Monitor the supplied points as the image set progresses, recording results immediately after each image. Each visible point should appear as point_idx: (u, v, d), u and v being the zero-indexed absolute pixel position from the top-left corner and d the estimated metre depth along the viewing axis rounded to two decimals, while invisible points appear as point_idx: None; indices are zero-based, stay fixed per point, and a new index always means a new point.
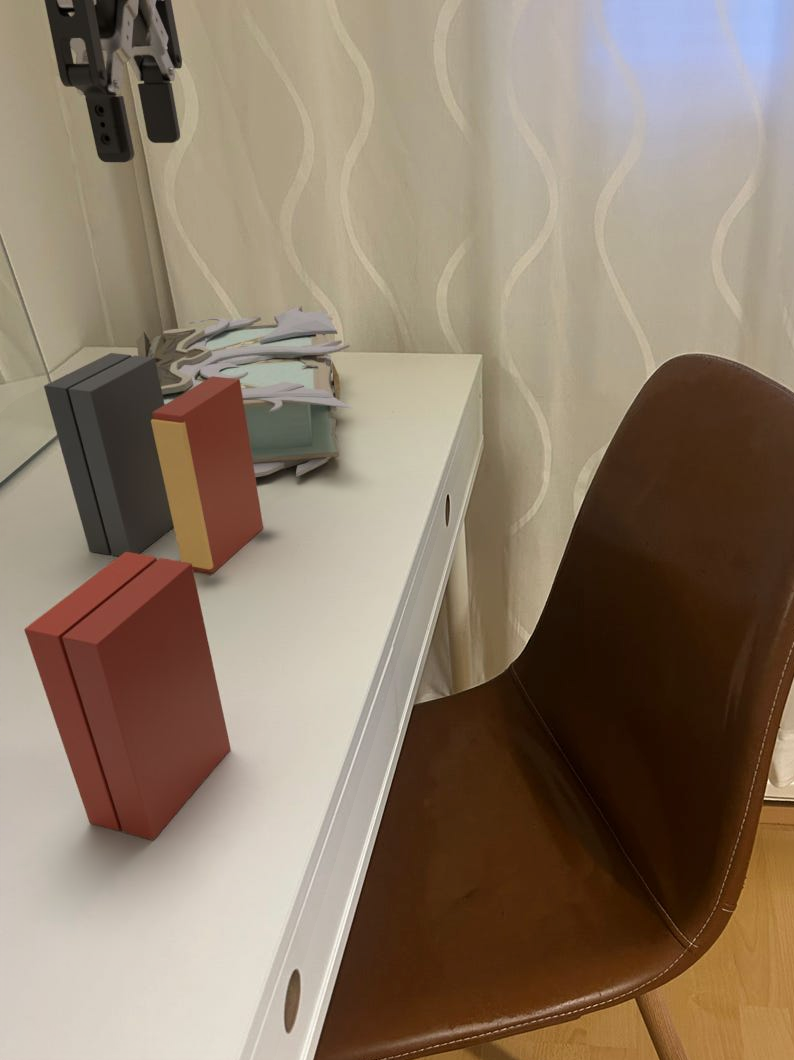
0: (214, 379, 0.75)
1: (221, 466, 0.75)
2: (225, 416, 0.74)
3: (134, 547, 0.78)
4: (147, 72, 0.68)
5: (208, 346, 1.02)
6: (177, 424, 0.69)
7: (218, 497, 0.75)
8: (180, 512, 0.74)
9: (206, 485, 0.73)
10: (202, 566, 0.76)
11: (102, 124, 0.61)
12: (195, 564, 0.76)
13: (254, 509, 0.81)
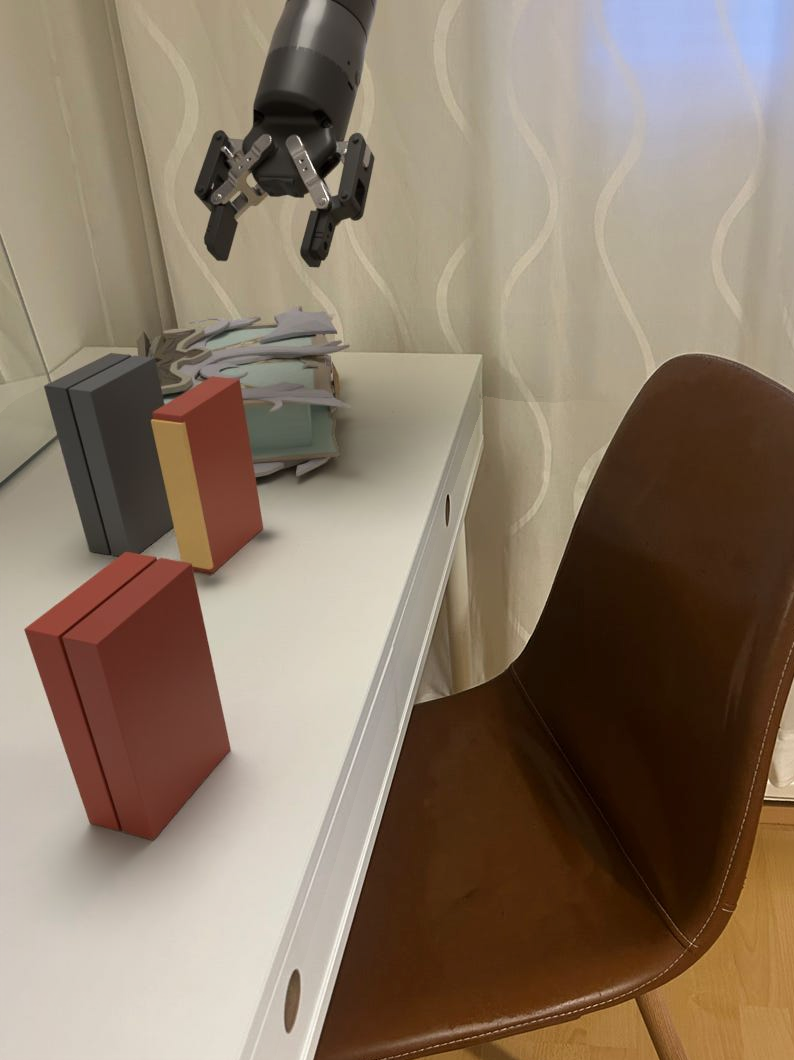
0: (214, 379, 0.75)
1: (221, 466, 0.75)
2: (225, 415, 0.74)
3: (134, 547, 0.78)
4: (229, 204, 0.79)
5: (208, 346, 1.02)
6: (177, 424, 0.69)
7: (218, 497, 0.75)
8: (180, 512, 0.74)
9: (206, 485, 0.73)
10: (202, 566, 0.76)
11: None
12: (195, 564, 0.76)
13: (254, 509, 0.81)
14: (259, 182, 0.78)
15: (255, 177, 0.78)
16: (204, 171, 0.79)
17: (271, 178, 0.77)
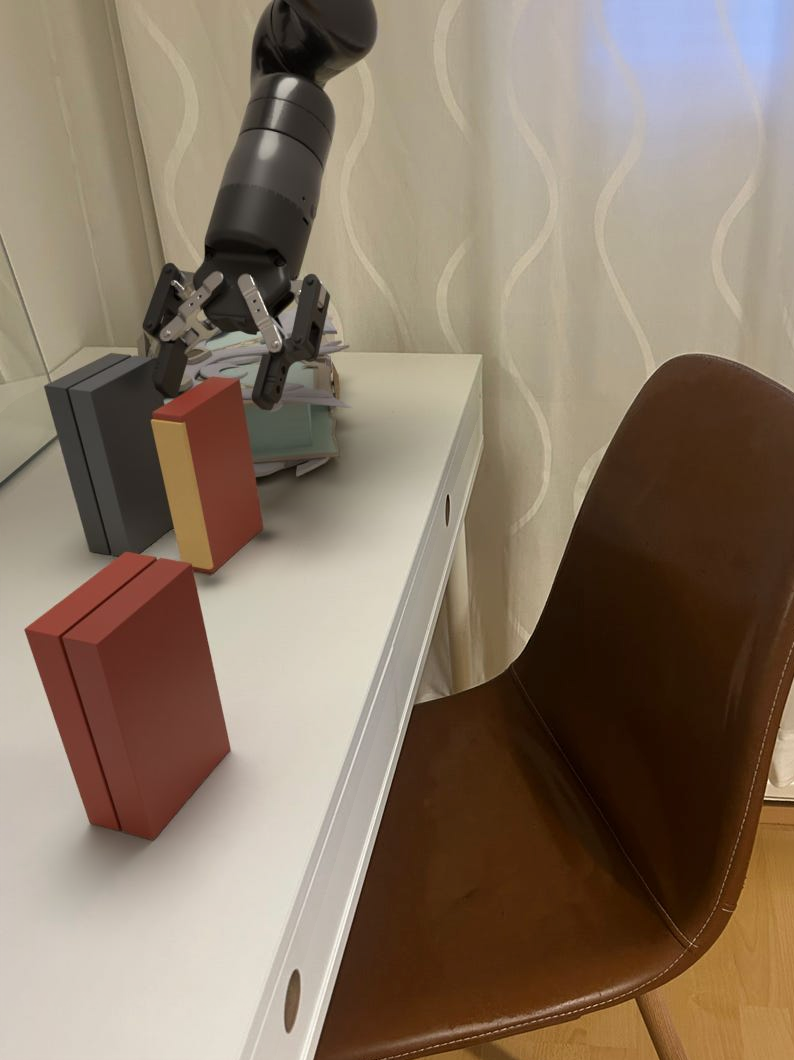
0: (214, 379, 0.75)
1: (220, 466, 0.75)
2: (225, 415, 0.74)
3: (134, 547, 0.78)
4: (179, 340, 0.76)
5: (208, 346, 1.02)
6: (177, 424, 0.69)
7: (218, 497, 0.75)
8: (180, 512, 0.74)
9: (206, 485, 0.73)
10: (202, 566, 0.76)
11: None
12: (195, 564, 0.76)
13: (254, 509, 0.81)
14: (210, 319, 0.75)
15: (206, 314, 0.75)
16: (153, 306, 0.76)
17: (222, 317, 0.74)
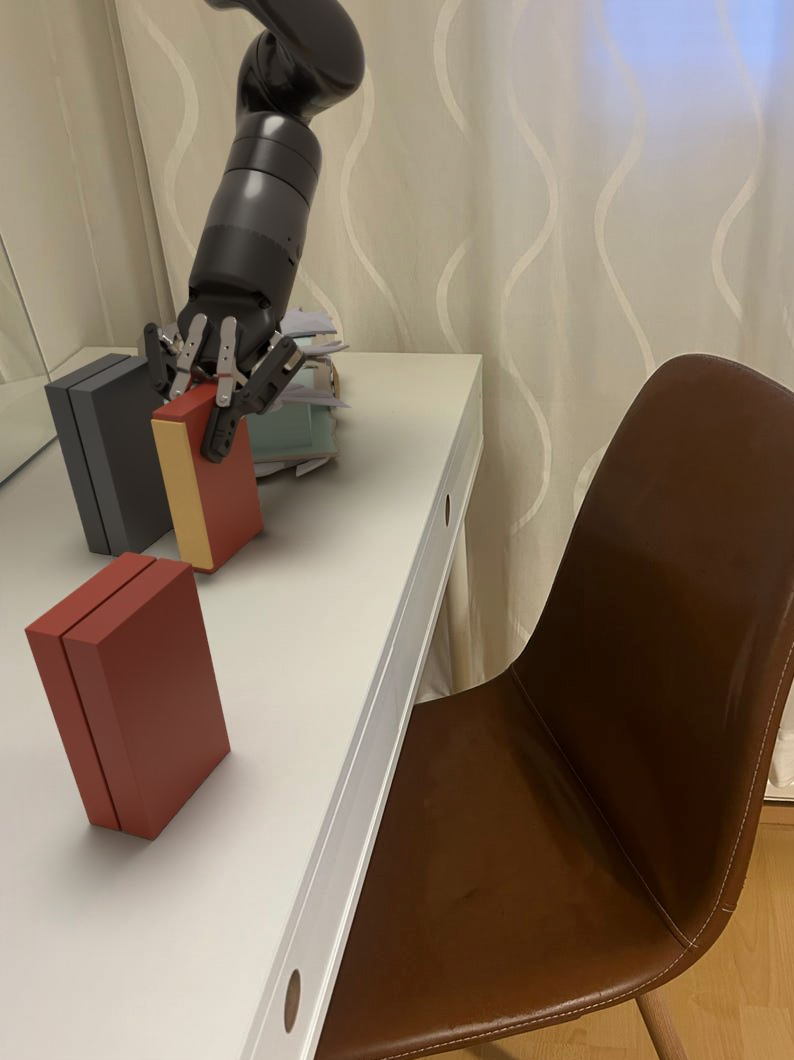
0: (214, 379, 0.75)
1: (221, 466, 0.75)
2: None
3: (134, 547, 0.78)
4: None
5: None
6: (177, 424, 0.69)
7: (218, 497, 0.75)
8: (180, 512, 0.74)
9: (206, 485, 0.73)
10: (202, 566, 0.76)
11: None
12: (195, 564, 0.76)
13: (254, 509, 0.81)
14: None
15: None
16: (153, 366, 0.74)
17: (206, 359, 0.73)
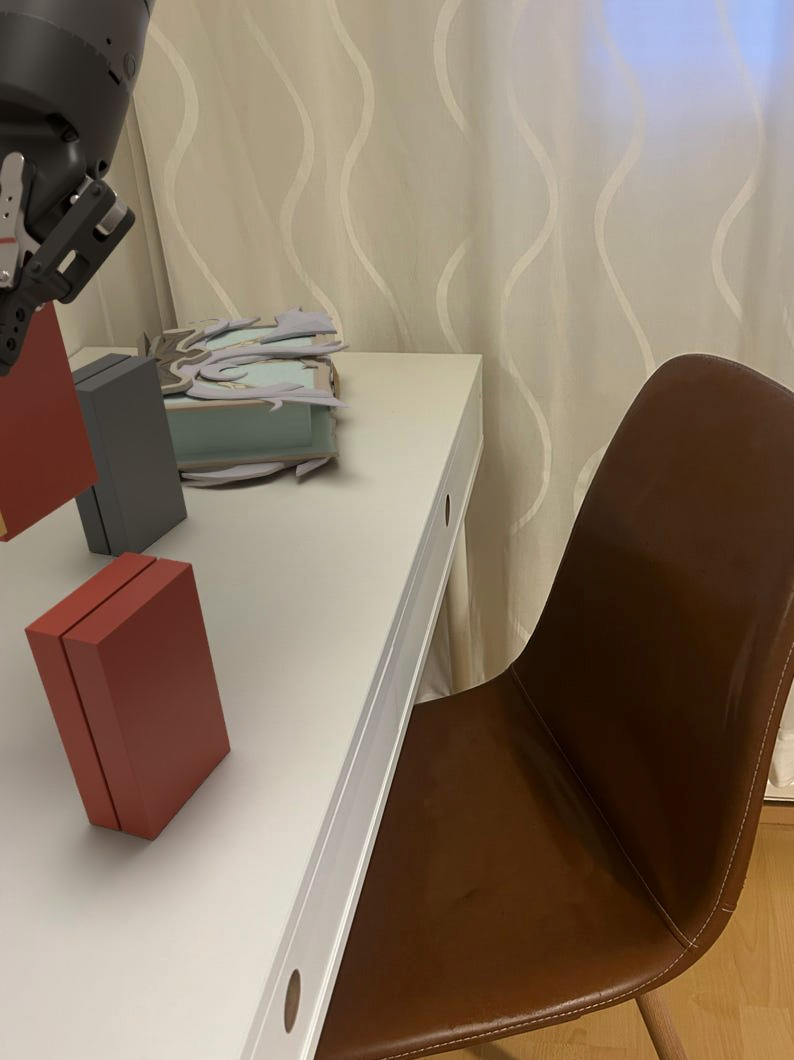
0: None
1: (12, 382, 0.50)
2: None
3: (134, 547, 0.78)
4: None
5: (208, 346, 1.02)
6: None
7: (9, 428, 0.51)
8: None
9: None
10: None
11: None
12: None
13: (81, 452, 0.56)
14: None
15: None
16: None
17: None
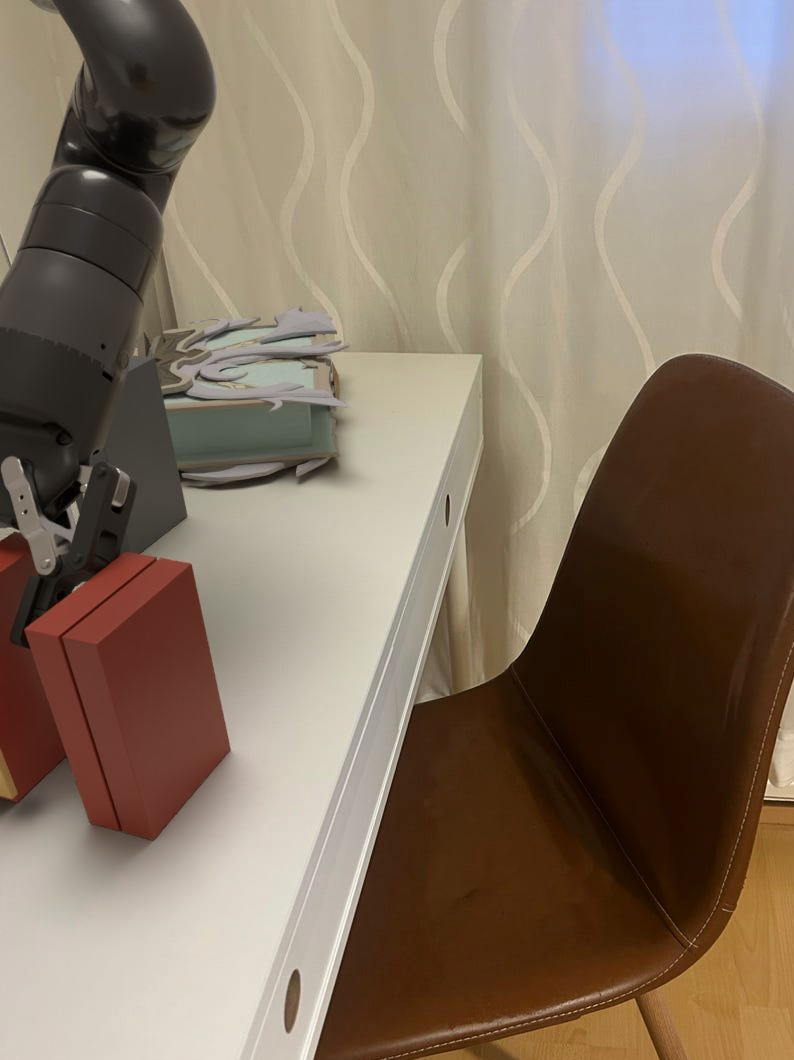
0: (16, 537, 0.54)
1: (23, 660, 0.54)
2: None
3: (134, 547, 0.78)
4: None
5: (208, 346, 1.02)
6: None
7: (20, 701, 0.54)
8: None
9: None
10: (1, 794, 0.55)
11: None
12: None
13: None
14: None
15: None
16: None
17: None
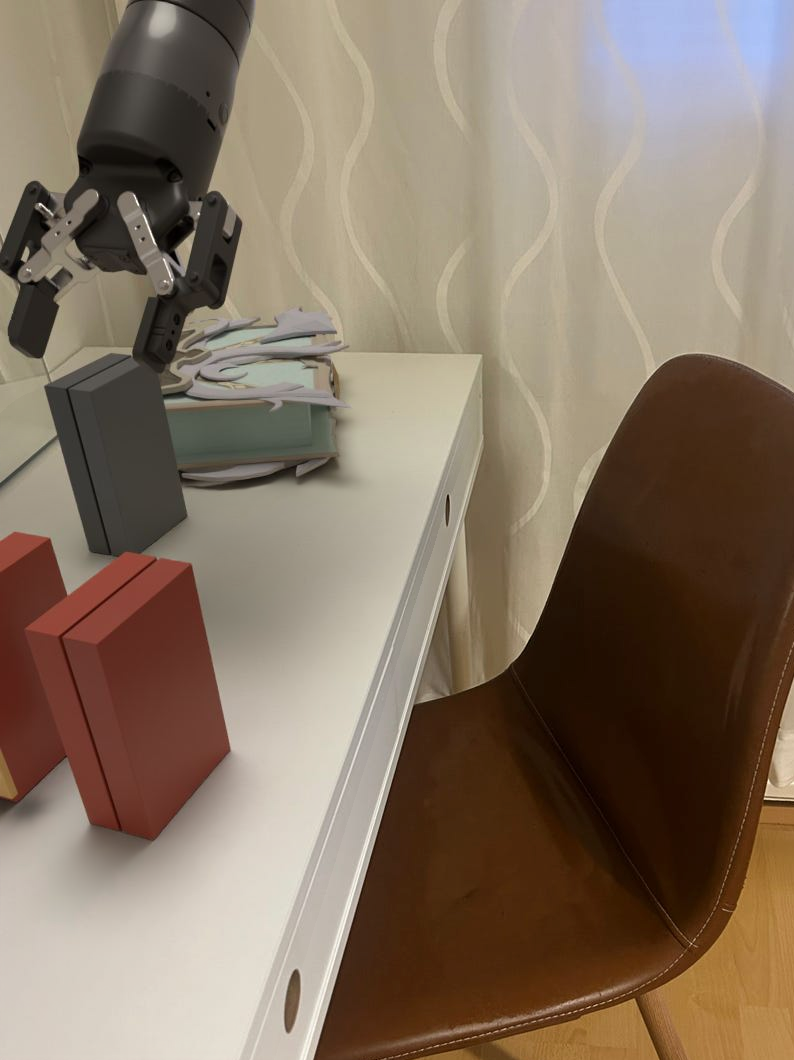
0: (16, 537, 0.54)
1: (23, 660, 0.54)
2: (26, 591, 0.53)
3: (134, 547, 0.78)
4: (44, 282, 0.57)
5: (208, 346, 1.02)
6: None
7: (20, 701, 0.54)
8: None
9: None
10: (1, 794, 0.55)
11: None
12: None
13: None
14: (84, 254, 0.57)
15: (78, 247, 0.57)
16: (11, 237, 0.58)
17: (98, 250, 0.56)
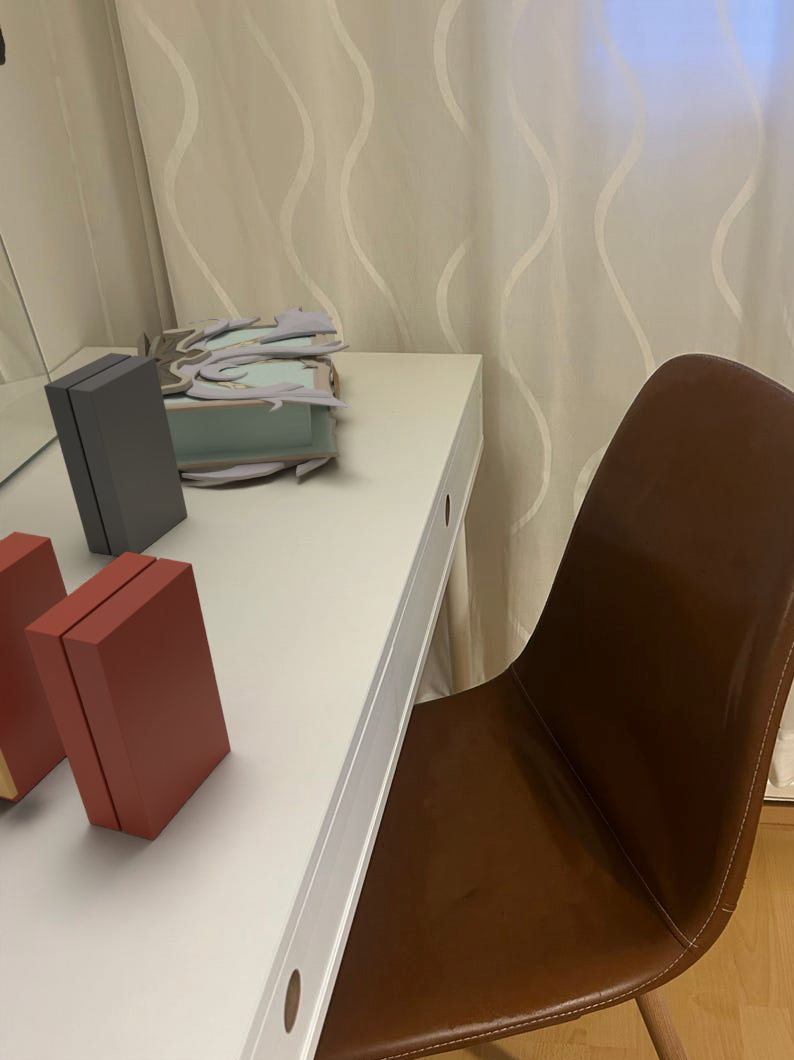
0: (16, 537, 0.54)
1: (23, 660, 0.54)
2: (26, 591, 0.53)
3: (134, 547, 0.78)
4: None
5: (208, 346, 1.02)
6: None
7: (20, 701, 0.54)
8: None
9: None
10: (1, 794, 0.55)
11: None
12: None
13: None
14: None
15: None
16: None
17: None
